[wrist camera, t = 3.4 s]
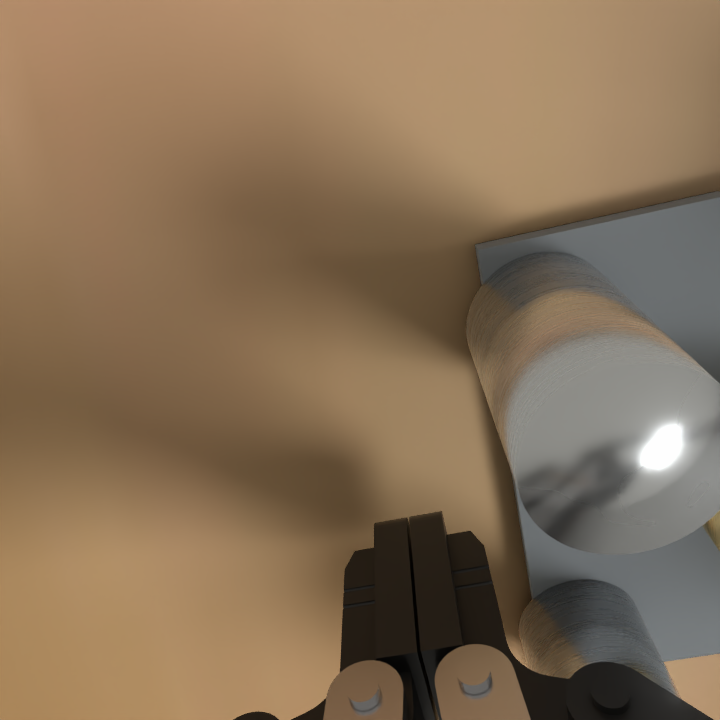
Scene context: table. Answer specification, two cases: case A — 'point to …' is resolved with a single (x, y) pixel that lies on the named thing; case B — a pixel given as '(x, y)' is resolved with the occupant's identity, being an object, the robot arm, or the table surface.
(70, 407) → the table surface
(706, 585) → the mat
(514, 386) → the cylinder
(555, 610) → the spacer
